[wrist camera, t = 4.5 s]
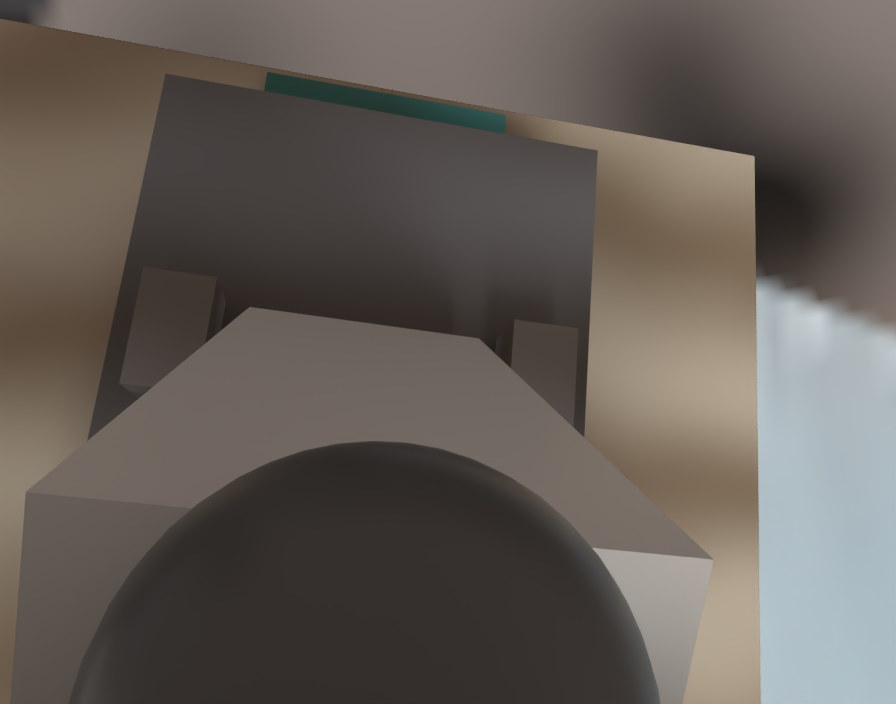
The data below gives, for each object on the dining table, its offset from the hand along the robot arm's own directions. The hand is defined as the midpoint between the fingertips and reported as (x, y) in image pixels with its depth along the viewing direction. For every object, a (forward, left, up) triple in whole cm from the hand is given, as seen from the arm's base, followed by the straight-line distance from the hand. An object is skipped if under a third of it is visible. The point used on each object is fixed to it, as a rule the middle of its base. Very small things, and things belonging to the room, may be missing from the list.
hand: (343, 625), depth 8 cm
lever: (+2, +3, -5) cm, 6 cm away
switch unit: (+2, +3, -9) cm, 10 cm away
